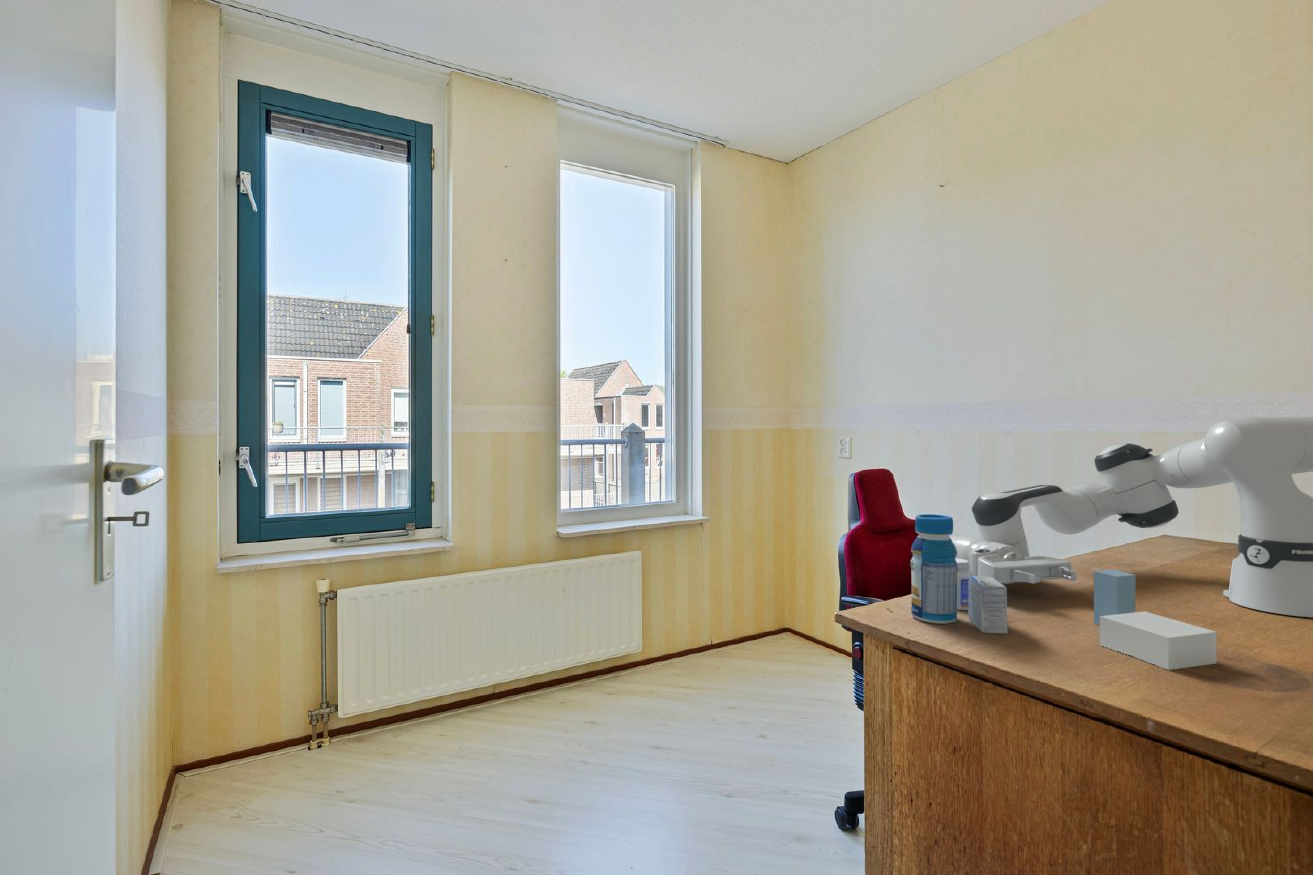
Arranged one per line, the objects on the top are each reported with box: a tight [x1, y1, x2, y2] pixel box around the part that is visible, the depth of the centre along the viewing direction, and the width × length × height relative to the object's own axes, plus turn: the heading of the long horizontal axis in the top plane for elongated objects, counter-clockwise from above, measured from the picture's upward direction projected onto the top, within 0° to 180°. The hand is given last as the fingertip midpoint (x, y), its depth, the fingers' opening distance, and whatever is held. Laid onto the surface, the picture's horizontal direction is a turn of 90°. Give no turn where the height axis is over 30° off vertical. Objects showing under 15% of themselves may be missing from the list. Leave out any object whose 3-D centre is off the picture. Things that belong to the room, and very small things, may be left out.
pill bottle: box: [955, 558, 973, 611], centre depth 126 cm, size 5×5×10 cm
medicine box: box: [968, 576, 1008, 635], centre depth 113 cm, size 8×4×9 cm, turn 168°
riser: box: [1099, 611, 1218, 671], centre depth 99 cm, size 10×11×5 cm
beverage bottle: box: [910, 513, 958, 625], centre depth 118 cm, size 8×8×20 cm
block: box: [1093, 569, 1137, 626], centre depth 113 cm, size 4×4×10 cm
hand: (1055, 578), depth 125 cm, fingers open, 8 cm apart
